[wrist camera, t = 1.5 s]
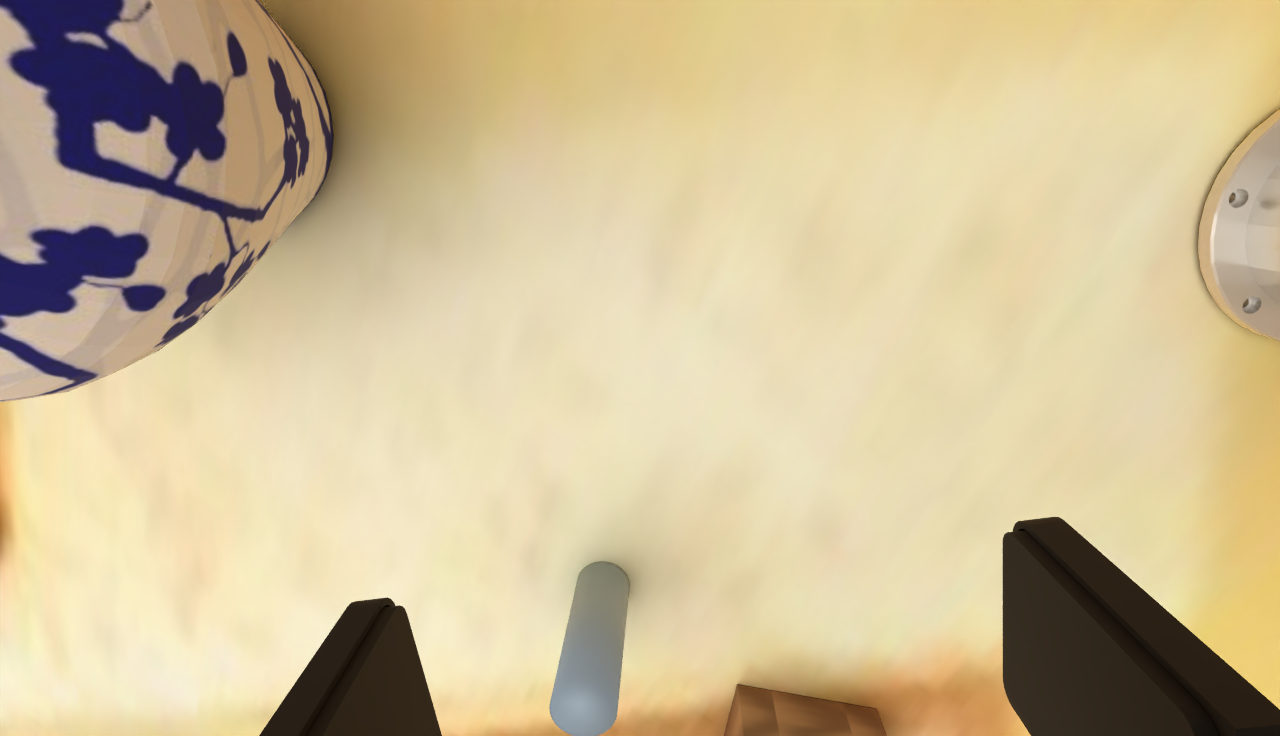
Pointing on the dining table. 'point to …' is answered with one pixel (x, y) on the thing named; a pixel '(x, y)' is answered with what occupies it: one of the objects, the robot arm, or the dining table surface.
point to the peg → (592, 653)
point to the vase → (140, 173)
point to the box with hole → (797, 716)
